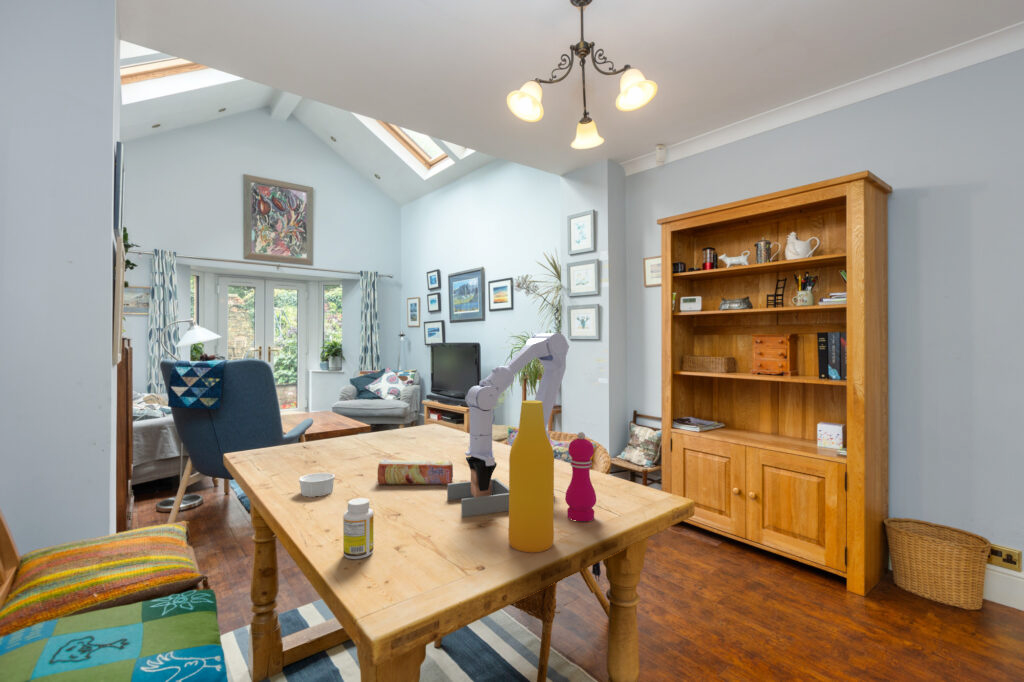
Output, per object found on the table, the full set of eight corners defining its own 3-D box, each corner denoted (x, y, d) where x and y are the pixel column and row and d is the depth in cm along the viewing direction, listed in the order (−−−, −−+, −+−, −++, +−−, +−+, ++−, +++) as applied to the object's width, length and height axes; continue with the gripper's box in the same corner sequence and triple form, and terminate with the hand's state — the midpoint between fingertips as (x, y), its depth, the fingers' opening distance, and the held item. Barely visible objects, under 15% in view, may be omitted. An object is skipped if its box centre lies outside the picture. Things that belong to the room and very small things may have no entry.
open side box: (496, 493, 130) (496, 478, 130) (515, 509, 118) (515, 493, 118) (447, 499, 125) (447, 483, 125) (462, 517, 113) (462, 499, 113)
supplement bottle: (363, 545, 97) (363, 494, 97) (379, 553, 93) (379, 500, 93) (337, 554, 93) (337, 501, 93) (353, 563, 89) (353, 508, 89)
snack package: (453, 480, 143) (453, 457, 143) (451, 486, 137) (451, 462, 137) (381, 480, 142) (381, 457, 142) (375, 487, 136) (375, 463, 136)
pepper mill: (598, 513, 115) (599, 430, 115) (593, 524, 109) (594, 436, 108) (568, 510, 118) (569, 428, 118) (562, 520, 111) (562, 433, 111)
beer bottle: (540, 557, 92) (541, 405, 92) (499, 546, 97) (500, 402, 97) (561, 540, 100) (562, 400, 100) (523, 531, 105) (524, 397, 105)
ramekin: (291, 495, 128) (291, 479, 128) (316, 486, 136) (316, 470, 136) (317, 500, 124) (317, 483, 124) (341, 490, 132) (341, 474, 132)
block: (485, 490, 124) (485, 467, 124) (490, 495, 120) (491, 471, 120) (470, 492, 123) (470, 469, 123) (475, 497, 119) (475, 473, 119)
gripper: (457, 429, 127) (457, 481, 127) (474, 440, 113) (474, 498, 113) (483, 427, 129) (482, 478, 129) (502, 438, 116) (502, 494, 116)
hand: (480, 487), depth 122 cm, fingers closed on block, 4 cm apart
